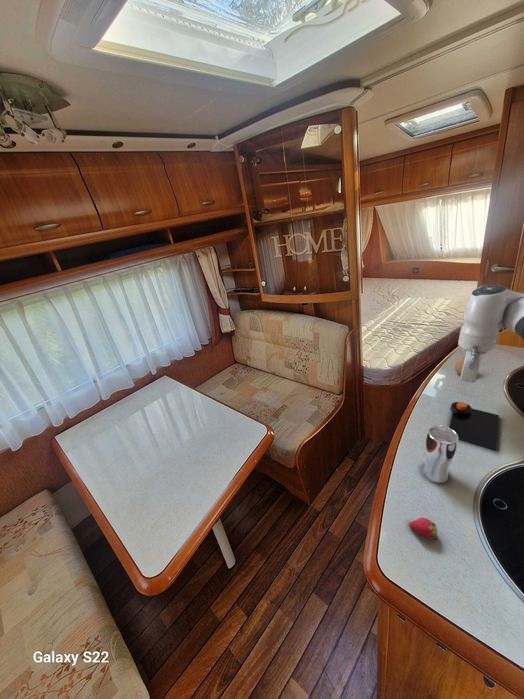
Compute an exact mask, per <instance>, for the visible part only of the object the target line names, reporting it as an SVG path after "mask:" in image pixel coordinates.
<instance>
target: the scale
mask: <svg viewBox="0 0 524 699" xmlns="http://www.w3.org/2000/svg"><path fill="white" fill-rule="evenodd" d="M458 402H459V401H454V402H452V403H451V405H450V411H451V412H452V414H451V418H450V421H449V426H448V427H449V428H451V429H452V430H454V431H455V432H456V433H457V435H458V437H459V439H458V441H462V442H464V443H468V444H470V445H471V444H472V445H474V446H478V447H481V448H484V449H488V450H491V451H494V452H496V451H497V448H498V434H499V419H500V415H499V414H496V413H491V412H488V411H484V410H480V409H476V408H472V407H471V405H470V404H468V403H466V404H467V409H466V410H464V411H463V410H459V409H457V407H456V406H457V403H458Z"/></svg>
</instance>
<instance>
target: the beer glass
mask: <svg viewBox="0 0 524 699" xmlns="http://www.w3.org/2000/svg"><path fill="white" fill-rule="evenodd" d="M458 439H459V437H458V435H457V433H456V432H455V431H454V430H452V429H451V428H449V426H446V425H441V424H436V425H432V426H430V427H429V428H428V429H427V433H426V437H425V442H424V454H425V462H424V464H423V466H422V473H423V475H424V476H425V478H426V479H428V480H429V481H431V482H434V483H436V484H442V483H445V482H447V481H448V479H449V468H450V466H451V464H452V463H453V461H454V459H455V458H456V455H457V452H458V446H459V440H458Z"/></svg>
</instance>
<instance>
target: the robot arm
mask: <svg viewBox="0 0 524 699" xmlns="http://www.w3.org/2000/svg"><path fill="white" fill-rule="evenodd" d="M502 329H507V330H509V331H511V332H513V333H514V334H516V336H518V337H519V338H521V339H522V340H523V341H524V293H523V292H517V291H514V290H511V289H509V288H507V286H505V285H502V284H486V285H482V286H479V287H476V288H474V289H473V290H472V292H471V293H470V294H469V296H468V299H467V301H466V305H465V307H464V312H463V324H462V326H461V327H460V331H459V337H458V341H457V344H458V346H459V347H460V348H461V350H462V351H463V352H464V353H465V356H464V357H465V359H464V363H463V368H462V372H461V375H460V376H459V377H460V381H462V382H468V383H473V384H474V383H475V382H476V381H477V379H478V374H479V369H480V365H481V361H482V356H483V355H486V354H488V353H489V352H491V351H494V349H495V348H496V346H497V345H496V344H497V341H498V337H499V333H500V330H502Z"/></svg>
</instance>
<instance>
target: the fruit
mask: <svg viewBox="0 0 524 699" xmlns="http://www.w3.org/2000/svg"><path fill="white" fill-rule="evenodd" d="M408 526H409V527H410V528H411V529H413V531H415V532H416V533H417V535H419V536H421V537H423V538H425V539H433V540H434V541H435V542H436V541H438V528H437V523H436V522H433V521H432V520H430V519H429V518H427V517H419V518H417V519H414V520H412V521H409V522H408Z"/></svg>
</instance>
